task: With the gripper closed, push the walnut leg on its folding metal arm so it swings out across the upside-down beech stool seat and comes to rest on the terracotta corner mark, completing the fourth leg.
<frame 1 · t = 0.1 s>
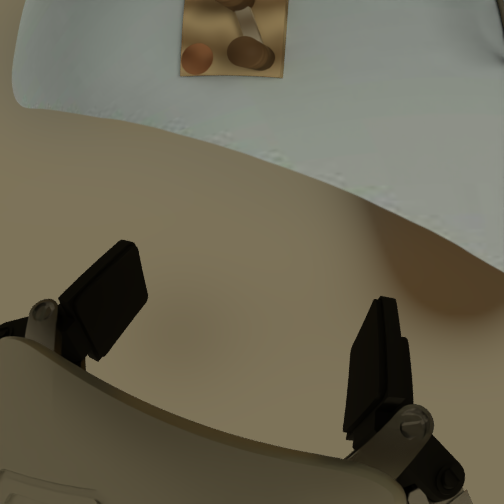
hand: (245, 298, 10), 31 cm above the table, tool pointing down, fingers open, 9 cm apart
stool seat: (236, 3, 27), on the table
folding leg: (242, 22, 24), point 6 cm above the table, hinge at 70.0°
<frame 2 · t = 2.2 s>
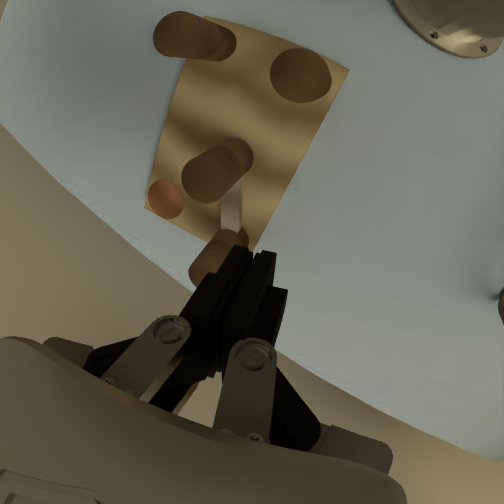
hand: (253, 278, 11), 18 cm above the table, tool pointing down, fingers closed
stool seat: (232, 140, 27), on the table
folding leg: (220, 215, 25), point 6 cm above the table, hinge at 70.0°
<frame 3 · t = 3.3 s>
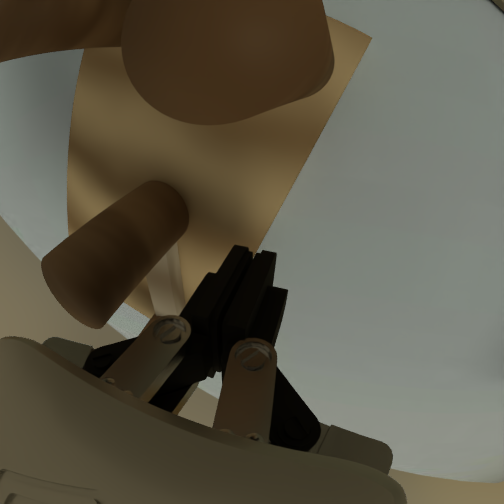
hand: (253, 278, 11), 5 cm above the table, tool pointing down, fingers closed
stool seat: (165, 176, 16), on the table
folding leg: (139, 313, 14), point 6 cm above the table, hinge at 70.0°
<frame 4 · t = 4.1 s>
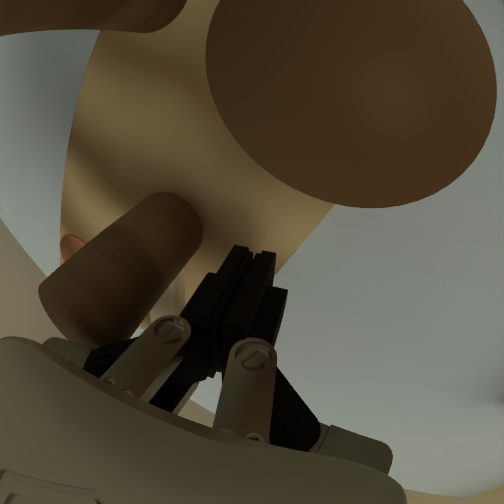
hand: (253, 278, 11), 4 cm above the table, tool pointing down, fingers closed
stool seat: (175, 184, 15), on the table
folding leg: (140, 334, 13), point 6 cm above the table, hinge at 69.9°, touching gripper
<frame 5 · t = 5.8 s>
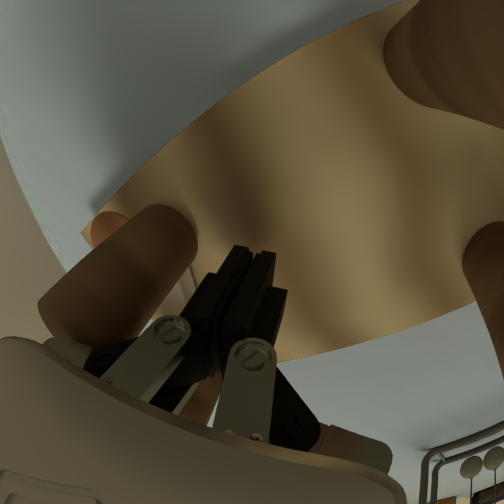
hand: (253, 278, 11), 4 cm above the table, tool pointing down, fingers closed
portable speaker: (494, 485, 49), on the table
stool seat: (296, 230, 14), on the table
hard drive box: (438, 500, 58), on the table
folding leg: (160, 351, 13), point 6 cm above the table, hinge at 26.9°, touching gripper
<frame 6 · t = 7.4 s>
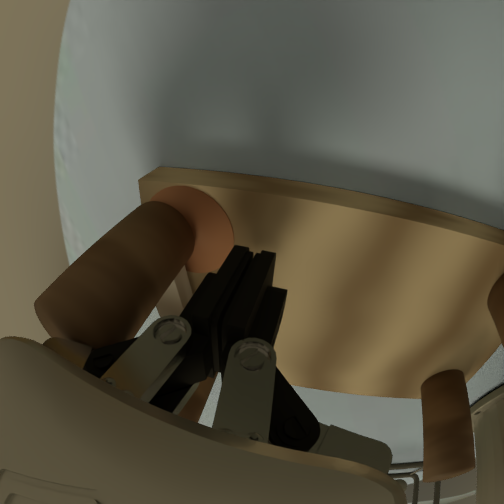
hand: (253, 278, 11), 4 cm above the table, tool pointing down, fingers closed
stool seat: (350, 305, 16), on the table
newton's cradle: (359, 469, 37), on the table
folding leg: (154, 348, 13), point 6 cm above the table, hinge at -7.5°, touching gripper
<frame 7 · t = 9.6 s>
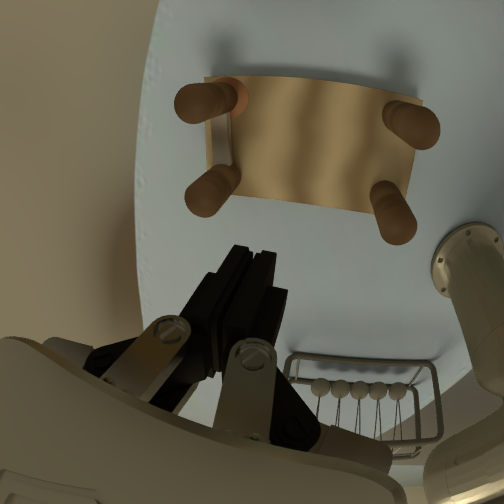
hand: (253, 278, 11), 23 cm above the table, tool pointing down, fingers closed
stool seat: (310, 140, 29), on the table
newton's cradle: (359, 371, 50), on the table
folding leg: (211, 144, 26), point 6 cm above the table, hinge at -2.5°
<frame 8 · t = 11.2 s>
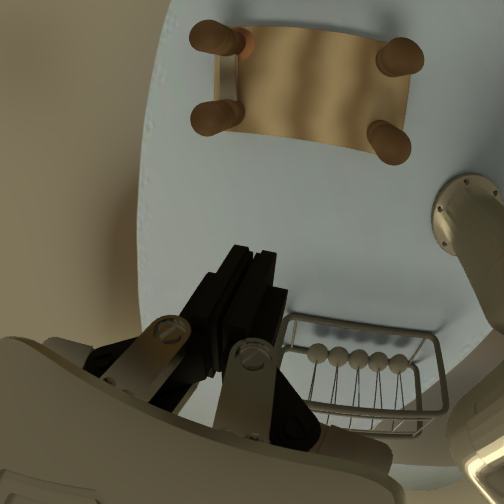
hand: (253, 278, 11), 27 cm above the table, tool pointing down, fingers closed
stool seat: (310, 84, 29), on the table
newton's cradle: (359, 341, 49), on the table
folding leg: (219, 77, 26), point 6 cm above the table, hinge at -2.5°
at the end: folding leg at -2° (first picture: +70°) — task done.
